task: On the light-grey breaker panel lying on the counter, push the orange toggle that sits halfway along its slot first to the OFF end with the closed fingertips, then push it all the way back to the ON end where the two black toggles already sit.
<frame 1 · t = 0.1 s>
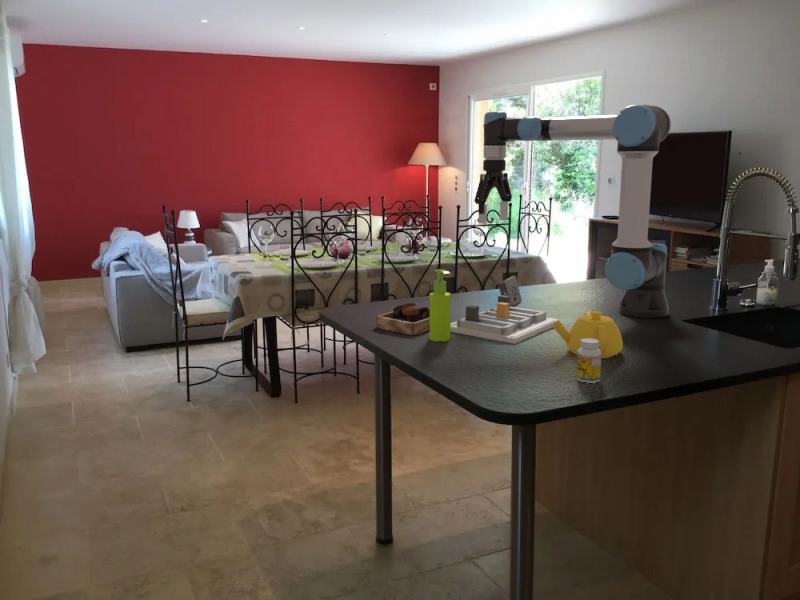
hand: (493, 221, 239), 28 cm above the countertop, tool pointing down, fingers open, 13 cm apart
wooden tray: (411, 325, 212), on the countertop
breaker tripped: (502, 312, 208), point 4 cm above the countertop, slide at 5.0 cm
electrical switch: (510, 304, 241), on the countertop
supplement bottle: (587, 381, 161), on the countertop
breaker 3: (472, 316, 204), point 4 cm above the countertop, slide at 10.0 cm
panel: (502, 327, 209), on the countertop
soap dispenser: (440, 339, 197), on the countertop
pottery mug: (411, 327, 212), resting in wooden tray
breaker 1: (503, 305, 218), point 4 cm above the countertop, slide at 10.0 cm
teapot: (586, 353, 183), on the countertop
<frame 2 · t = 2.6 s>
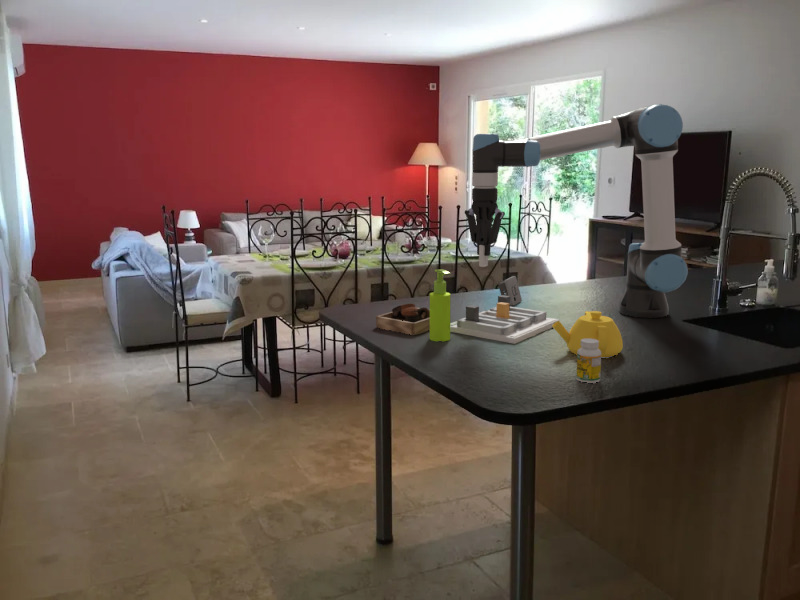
hand: (483, 266, 209), 18 cm above the countertop, tool pointing down, fingers closed
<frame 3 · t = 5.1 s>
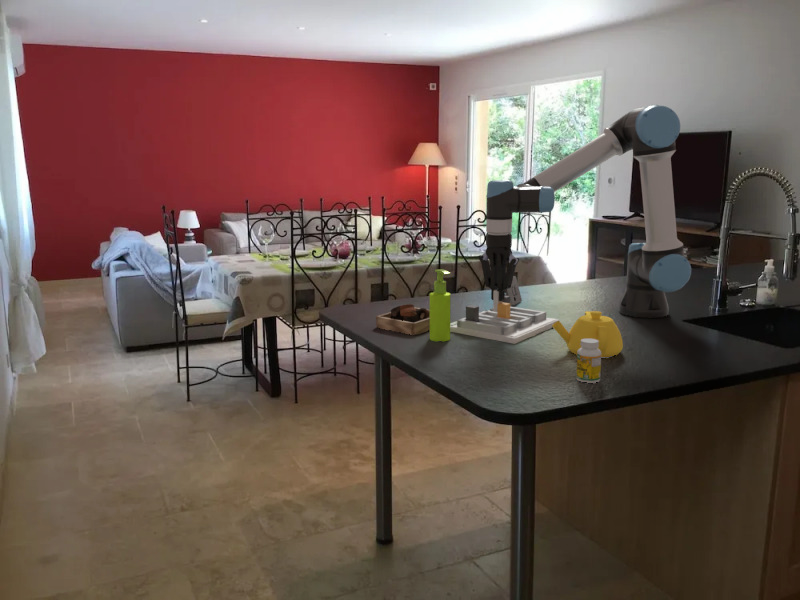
hand: (497, 311, 209), 5 cm above the countertop, tool pointing down, fingers closed
breaker tripped: (503, 312, 208), point 4 cm above the countertop, slide at 4.6 cm, touching gripper
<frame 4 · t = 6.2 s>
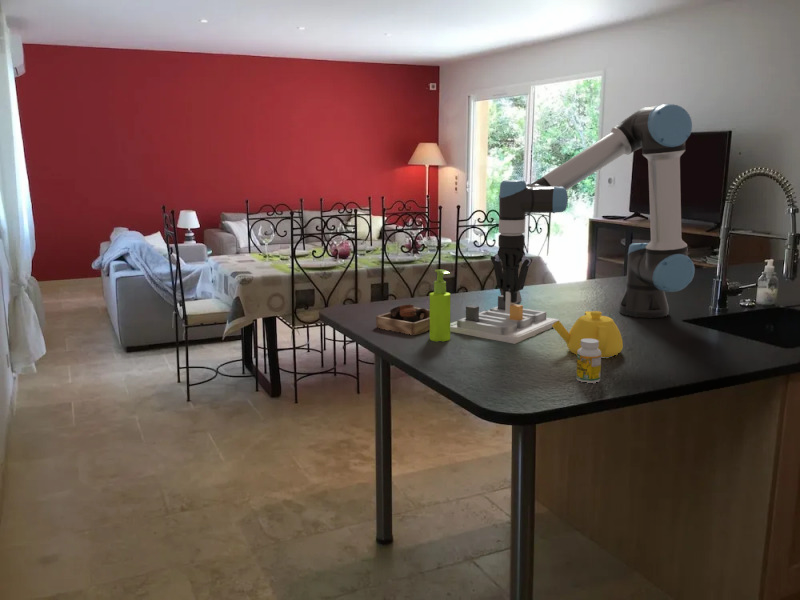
hand: (509, 312, 206), 5 cm above the countertop, tool pointing down, fingers closed
breaker tripped: (516, 314, 205), point 4 cm above the countertop, slide at 0.4 cm, touching gripper
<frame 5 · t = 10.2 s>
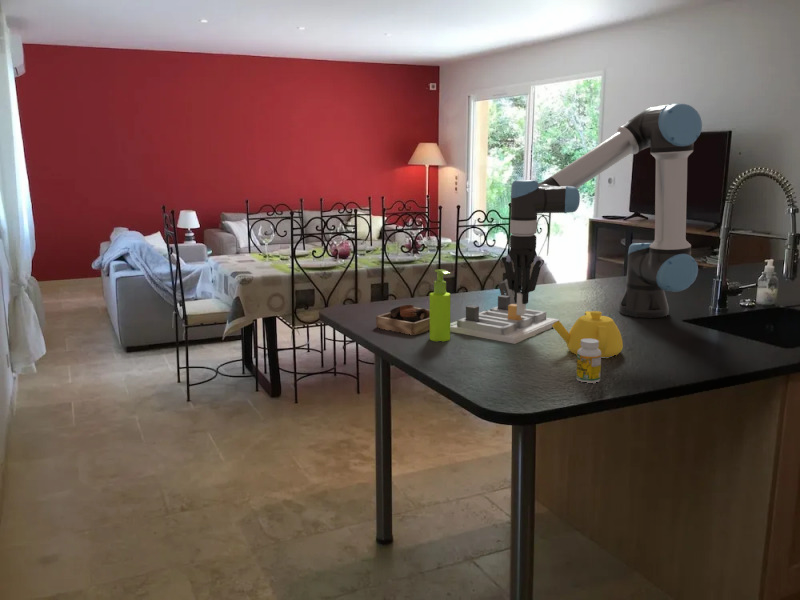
hand: (520, 314, 204), 5 cm above the countertop, tool pointing down, fingers closed
breaker tripped: (514, 314, 205), point 4 cm above the countertop, slide at 1.0 cm, touching gripper
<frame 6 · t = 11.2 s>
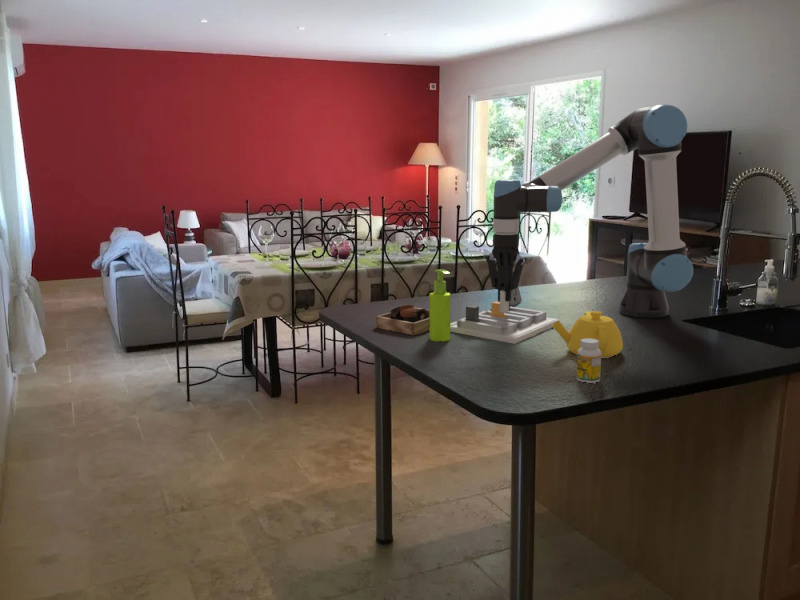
hand: (504, 311, 207), 5 cm above the countertop, tool pointing down, fingers closed
breaker tripped: (497, 312, 209), point 4 cm above the countertop, slide at 6.7 cm, touching gripper
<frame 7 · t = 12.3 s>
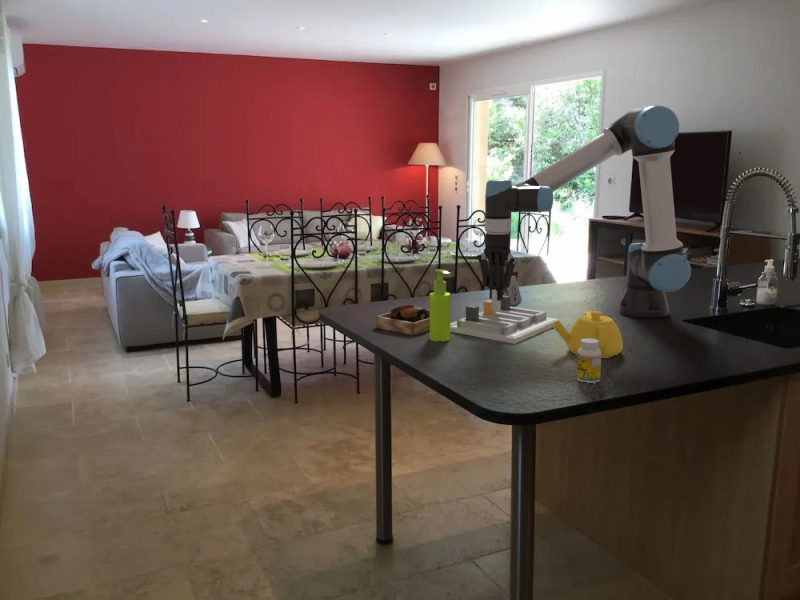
hand: (496, 310, 209), 5 cm above the countertop, tool pointing down, fingers closed
breaker tripped: (489, 310, 211), point 4 cm above the countertop, slide at 9.6 cm, touching gripper
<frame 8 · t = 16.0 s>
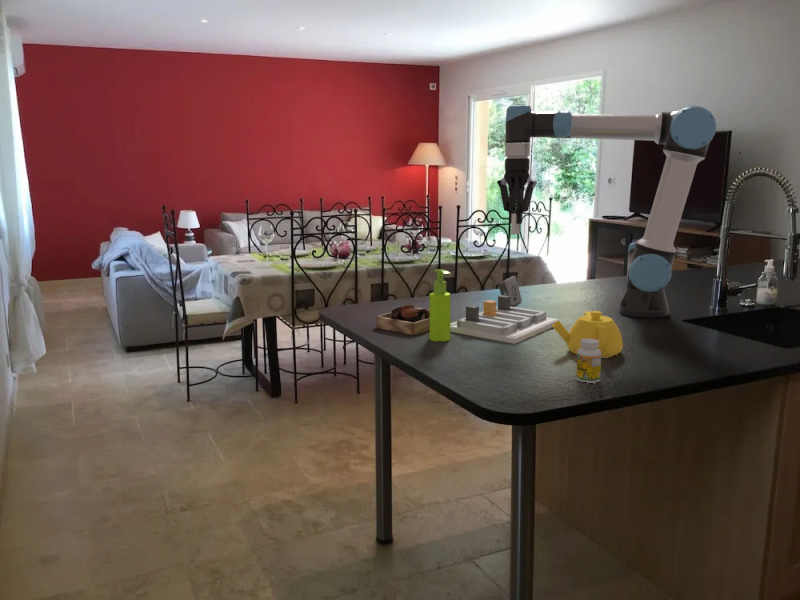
hand: (515, 234, 218), 26 cm above the countertop, tool pointing down, fingers closed
breaker tripped: (489, 310, 211), point 4 cm above the countertop, slide at 9.6 cm
at the end: breaker tripped slide at 9.6 cm; breaker 1 slide at 10.0 cm; breaker 3 slide at 10.0 cm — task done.
